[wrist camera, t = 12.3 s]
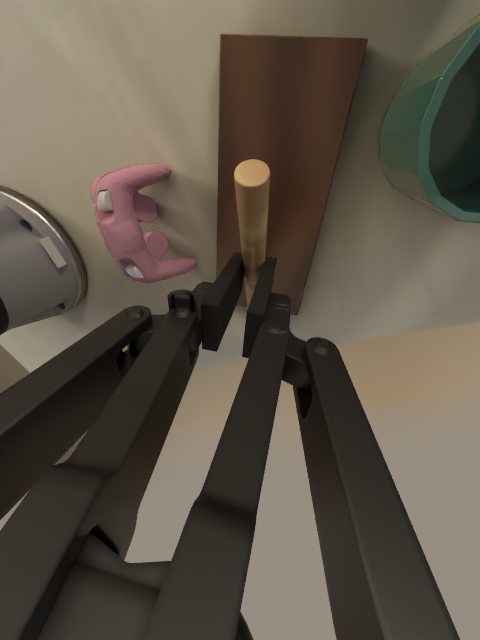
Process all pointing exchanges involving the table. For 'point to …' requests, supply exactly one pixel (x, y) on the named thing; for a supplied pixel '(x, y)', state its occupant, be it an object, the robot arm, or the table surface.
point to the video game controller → (134, 223)
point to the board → (283, 140)
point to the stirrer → (252, 217)
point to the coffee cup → (438, 128)
